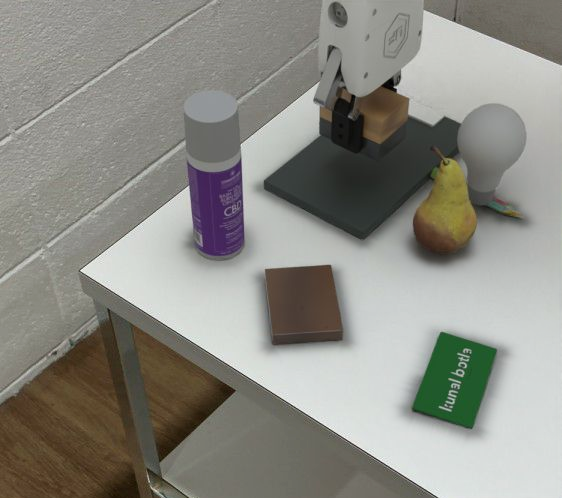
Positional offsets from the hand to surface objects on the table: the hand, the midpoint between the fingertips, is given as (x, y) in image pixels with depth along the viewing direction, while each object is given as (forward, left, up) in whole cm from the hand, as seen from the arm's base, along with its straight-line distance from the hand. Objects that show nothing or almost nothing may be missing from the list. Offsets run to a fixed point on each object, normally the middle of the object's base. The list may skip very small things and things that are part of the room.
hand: (362, 131), depth 90 cm
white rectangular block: (-8, -9, -4) cm, 12 cm away
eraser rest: (+8, +17, -5) cm, 20 cm away
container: (+14, +8, -6) cm, 18 cm away
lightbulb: (-11, +5, -6) cm, 13 cm away
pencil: (-8, +1, -6) cm, 10 cm away
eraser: (0, 0, -1) cm, 1 cm away
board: (-2, -2, -5) cm, 6 cm away
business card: (-6, +28, -5) cm, 29 cm away
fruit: (-6, +10, -6) cm, 13 cm away
